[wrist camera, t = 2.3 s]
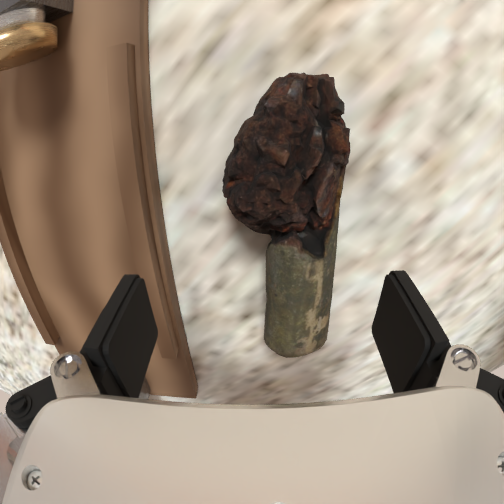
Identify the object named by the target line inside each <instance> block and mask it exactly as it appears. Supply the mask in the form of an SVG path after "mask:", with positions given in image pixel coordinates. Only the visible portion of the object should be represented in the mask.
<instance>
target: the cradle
mask: <svg viewBox="0 0 504 504" xmlns="http://www.w3.org/2000/svg"><path fill="white" fill-rule="evenodd" d="M49 23H51V24H54V25H55V26H57V29H58V31H57V49H56V50H55V51H54V52H52V53H51V54H49V55H47V56H45V57H43V58H41V59H38V60H36V61H33V62H30V63H27V64H24V65H21V66H18V67H15V68H11V69H8V70H4V71H0V242H1V245H2V248H3V251H4V254H5V256H6V259H7V262H8V264H9V267H10V269H11V272H12V274H13V277H14V279H15V282H16V284H17V286H18V288H19V291H20V293H21V295H22V297H23V300H24V302H25V304H26V306H27V308H28V310H29V312H30V314H31V316H32V318H33V320H34V322H35V324H36V326H37V328H38V330H39V332H40V334H41V336H42V337H43V339H44V341H45V343H46V344H51V345H55V347H56V349H57V350H58V352H59V354H60V355H61V354H63V353H65V352H69V351H75V352H80V350H81V349H82V347H83V345H84V343H85V341H86V339H87V337H88V335H89V333H90V332H91V330H92V328H93V326H94V324H95V323H96V321H97V319H98V317H99V315H100V314H101V312H102V310H103V309H104V307H105V306H106V304H107V302H108V301H109V299H110V297H111V295H112V294H113V292H114V290H115V289H116V287H117V285H118V284H119V282H120V280H121V279H122V277H123V276H124V275H125V274H138V275H139V276H140V278H143V279H144V281H145V284H146V288H147V292H148V296H149V300H150V304H151V307H152V311H153V315H154V318H155V322H156V325H157V329H158V337H157V341H156V344H155V347H154V350H153V353H152V356H151V359H150V362H149V365H148V369H147V372H146V375H145V377H146V379H147V382H148V384H149V386H150V389H151V390H150V394H152V395H161V396H172V397H184V398H196V396H197V390H198V385H197V381H196V377H195V373H194V369H193V365H192V361H191V357H190V353H189V348H188V344H187V340H186V335H185V331H184V326H183V322H182V317H181V312H180V308H179V303H178V298H177V293H176V288H175V282H174V277H173V272H172V266H171V261H170V255H169V249H168V243H167V237H166V230H165V224H164V217H163V210H162V203H161V196H160V188H159V180H158V172H157V163H156V154H155V144H154V134H153V122H152V109H151V94H150V76H149V49H148V0H74V6H73V13H71V14H68V15H65V16H63V17H61V18H58V19H56V20H53V21H51V22H49Z"/></svg>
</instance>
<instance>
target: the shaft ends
mask: <svg viewBox="0 0 504 504" xmlns="http://www.w3.org/2000/svg"><path fill="white" fill-rule="evenodd" d="M73 6H74V0H0V71H4V70H8V69H11V68H15V67H18V66H21V65H24V64H27V63H30V62H33V61H36V60H38V59H41V58H43V57H45V56H47V55H49V54H51V53H52V52H54V51H55V50H56V49H57V31H58V29H57V26H55V25H54V24H51V23H49V22H51V21H53V20H56V19H58V18H61V17H63V16H65V15H68V14H71V13H73ZM150 390H151V389H150V386H149V384H148V382H147V379H146V377H145V378H144V381H143V385H142V388H141V391H140V395H139V398H140V399H148V397H149V394H150Z"/></svg>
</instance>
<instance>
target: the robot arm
mask: <svg viewBox="0 0 504 504" xmlns="http://www.w3.org/2000/svg"><path fill="white" fill-rule="evenodd" d="M372 334H373V337H374V340H375V342H376V345H377V348H378V350H379V353H380V356H381V358H382V361H383V364H384V367H385V369H386V372H387V375H388V378H389V381H390V383H391V386H392V389H393V392H394V393H393V394H386V395H379V396H372V397H365V398H356V399H348V400H338V401H327V402H314V403H298V404H271V405H228V404H201V403H185V402H172V401H161V400H150V399H140V398H139V395H140V391H141V388H142V385H143V381H144V378H145V375H146V372H147V369H148V365H149V362H150V359H151V356H152V353H153V350H154V347H155V344H156V341H157V337H158V329H157V325H156V322H155V318H154V315H153V311H152V307H151V304H150V300H149V296H148V292H147V288H146V284H145V281H144V279H143V278H140V276H139V275H138V274H125V275H124V276H123V277H122V279H121V280H120V282H119V284H118V285H117V287H116V289H115V290H114V292H113V294H112V295H111V297H110V299H109V301H108V302H107V304H106V306H105V307H104V309H103V310H102V312H101V314H100V315H99V317H98V319H97V321H96V323H95V324H94V326H93V328H92V330H91V332H90V333H89V335H88V337H87V339H86V341H85V343H84V345H83V347H82V349H81V350H80V352H75V351H69V352H65V353H63V354H61V355H59V356H58V357H57V358H56V359H55V360H54V361H53V363H52V364H51V368H50V374H51V376H49V377H47V378H45V379H43V380H41V381H39V382H37V383H35V384H33V385H31V386H29V387H27V388H25V389H23V390H21V391H19V392H17V393H15V394H14V395H12V396H11V397H10V399H9V400H8V402H7V405H6V413H5V414H4V415H3V414H2V413H0V504H504V379H502V378H500V377H498V376H496V375H494V374H491V373H489V372H487V371H485V370H483V369H481V368H480V366H481V361H480V358H479V356H478V354H477V353H476V352H475V351H474V350H473V349H472V348H470V347H468V346H465V345H454V346H452V347H451V345H450V343H449V339H448V338H447V336H446V334H445V332H444V331H443V329H442V327H441V326H440V324H439V322H438V321H437V319H436V317H435V316H434V314H433V313H432V311H431V309H430V308H429V306H428V305H427V303H426V301H425V300H424V298H423V297H422V295H421V294H420V292H419V291H418V289H417V288H416V286H415V285H414V283H413V282H412V280H411V279H410V277H409V276H408V274H407V273H406V272H405V271H391V272H390V273H389V275H386V277H385V280H384V284H383V288H382V292H381V296H380V300H379V303H378V307H377V311H376V314H375V318H374V321H373V325H372Z"/></svg>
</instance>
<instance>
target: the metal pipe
mask: <svg viewBox="0 0 504 504" xmlns="http://www.w3.org/2000/svg"><path fill="white" fill-rule="evenodd" d="M342 114H344V102H343V101H342V100H341V99H340V98H339V97H338V94H337V92H336V89H335V84H334V77H329V75H328V74H322V75H306V74H305V73H302V74H299V73H289V74H288V75H286V76H285V77H279V78H277V79H276V80H275V81H274V82H273V83H272V85H271V86H270V88H269V89H268V90H267V92H266V93H265V94H264V95H263V96H262V97H261V99H260V101H259V103H258V104H257V106H256V109H255V112H254V114H253V116H252V117H250V118H249V119H247V120H245V122H244V123H243V124H242V126H241V128H240V130H239V132H238V134H237V136H236V137H235V139H234V148H233V150H232V152H231V153H230V155H229V157H228V158H227V160H226V168H225V170H224V173H225V174H224V178H223V194H224V197H225V198H227V205H228V207H229V209H230V210H231V212H232V214H233V215H234V217H235V218H237V219H238V220H239V221H241V222H242V223H244V224H245V225H246V226H247V227H248V228H250V229H251V230H253V231H255V232H258V233H263V234H270V235H271V238H272V240H271V242H270V243H269V244H268V247H267V251H266V293H267V304H266V313H265V330H264V340H265V342H266V344H267V346H268V347H269V348H270V349H271V350H273V351H274V352H276V353H277V354H278V355H281V356H284V357H299V356H304V355H307V354H309V353H312V352H314V351H316V350H318V349H320V348H321V347H322V346H323V345H324V343H325V341H326V340H327V333H328V326H329V317H330V307H331V300H332V288H333V277H334V269H335V258H336V247H337V233H338V222H339V207H340V198H341V193H342V189H343V181H344V175H345V168H346V164H347V163H348V162H349V160H348V158H349V154H350V142H349V133H350V129H349V128H346V126H345V122H344V120H343V119H342V118H341V115H342Z"/></svg>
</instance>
